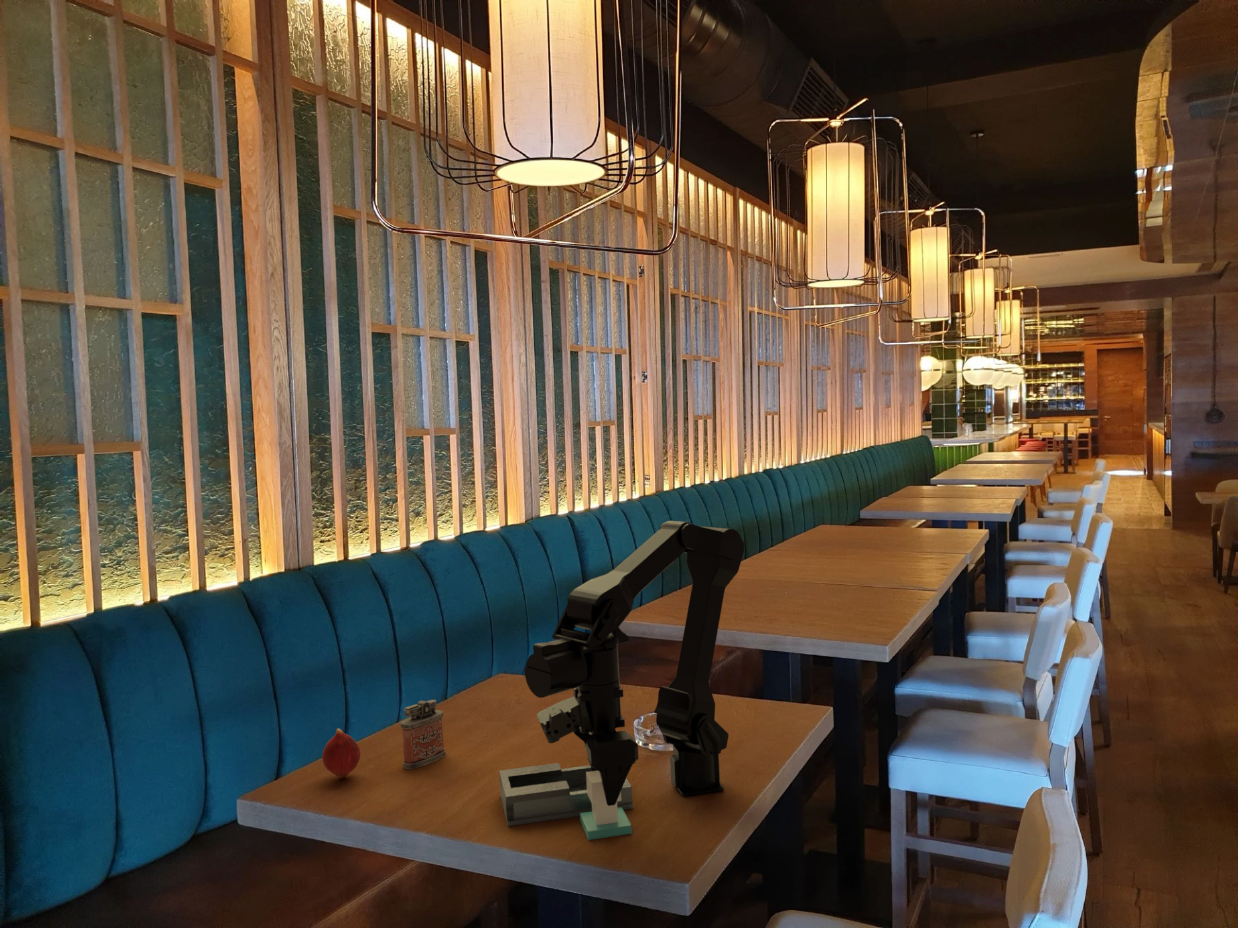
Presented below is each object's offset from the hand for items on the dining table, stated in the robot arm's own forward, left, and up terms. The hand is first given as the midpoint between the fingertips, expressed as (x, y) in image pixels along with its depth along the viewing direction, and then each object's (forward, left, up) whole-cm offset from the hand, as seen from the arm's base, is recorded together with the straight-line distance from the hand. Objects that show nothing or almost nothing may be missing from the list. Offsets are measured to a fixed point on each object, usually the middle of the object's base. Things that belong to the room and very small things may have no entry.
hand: (604, 791), depth 127 cm
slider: (0, 0, -5) cm, 5 cm away
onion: (+37, -31, -5) cm, 49 cm away
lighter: (+24, -34, -5) cm, 42 cm away
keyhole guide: (+4, -10, -5) cm, 12 cm away
